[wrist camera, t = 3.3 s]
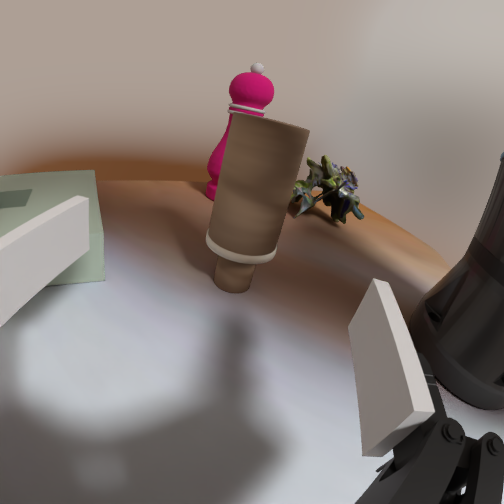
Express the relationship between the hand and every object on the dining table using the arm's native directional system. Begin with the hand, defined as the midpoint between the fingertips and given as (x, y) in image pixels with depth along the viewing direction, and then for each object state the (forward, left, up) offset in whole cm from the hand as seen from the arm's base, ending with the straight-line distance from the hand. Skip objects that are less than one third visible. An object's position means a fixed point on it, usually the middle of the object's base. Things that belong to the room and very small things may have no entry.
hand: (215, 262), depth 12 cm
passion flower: (-26, -19, -7) cm, 33 cm away
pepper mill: (-15, -26, -7) cm, 31 cm away
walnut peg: (-6, -7, -7) cm, 12 cm away
